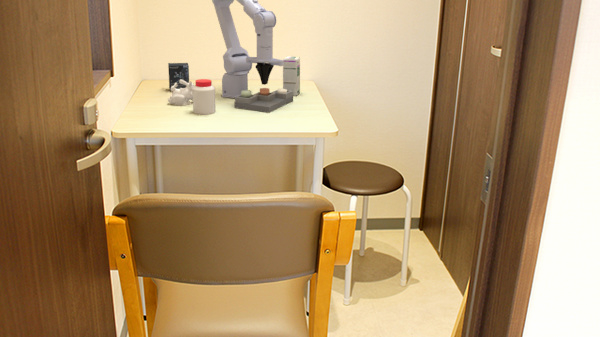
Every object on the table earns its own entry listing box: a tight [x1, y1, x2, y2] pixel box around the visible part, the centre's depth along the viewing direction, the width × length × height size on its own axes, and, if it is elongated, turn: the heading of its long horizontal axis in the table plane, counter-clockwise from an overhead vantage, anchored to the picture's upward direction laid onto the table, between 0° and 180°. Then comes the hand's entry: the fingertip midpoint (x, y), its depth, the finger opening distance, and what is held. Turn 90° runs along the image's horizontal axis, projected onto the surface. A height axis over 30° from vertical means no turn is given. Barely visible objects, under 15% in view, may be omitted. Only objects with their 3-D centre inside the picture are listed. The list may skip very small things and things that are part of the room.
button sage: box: [241, 90, 252, 98], centre depth 217 cm, size 4×4×2 cm
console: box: [233, 89, 294, 114], centre depth 222 cm, size 14×20×4 cm
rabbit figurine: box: [167, 79, 195, 106], centre depth 218 cm, size 12×8×10 cm, turn 101°
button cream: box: [276, 88, 287, 93], centre depth 225 cm, size 4×4×2 cm
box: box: [167, 62, 190, 92], centre depth 239 cm, size 8×6×11 cm
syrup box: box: [282, 55, 301, 97], centre depth 236 cm, size 6×6×14 cm
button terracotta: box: [259, 87, 270, 96], centre depth 221 cm, size 4×4×2 cm
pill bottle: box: [192, 78, 217, 116], centre depth 208 cm, size 8×8×11 cm
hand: (264, 84), depth 220 cm, fingers closed
